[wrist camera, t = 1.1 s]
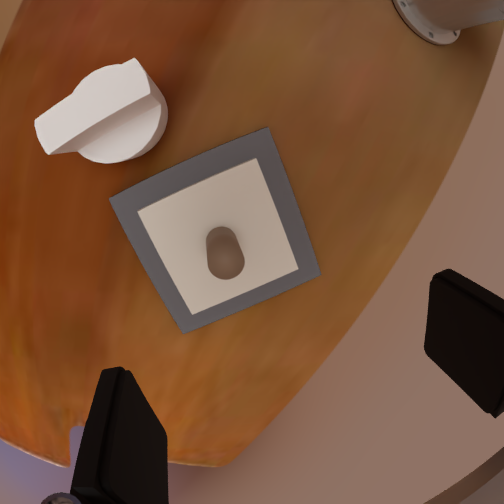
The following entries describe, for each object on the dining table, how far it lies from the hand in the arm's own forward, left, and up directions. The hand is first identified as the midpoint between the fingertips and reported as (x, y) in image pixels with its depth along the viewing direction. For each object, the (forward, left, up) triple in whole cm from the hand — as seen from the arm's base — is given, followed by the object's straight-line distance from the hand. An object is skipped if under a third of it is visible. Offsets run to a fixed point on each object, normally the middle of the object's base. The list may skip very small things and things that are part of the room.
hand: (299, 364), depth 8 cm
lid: (+2, +4, -26) cm, 26 cm away
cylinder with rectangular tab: (+6, -12, -27) cm, 30 cm away
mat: (+2, +4, -27) cm, 27 cm away
